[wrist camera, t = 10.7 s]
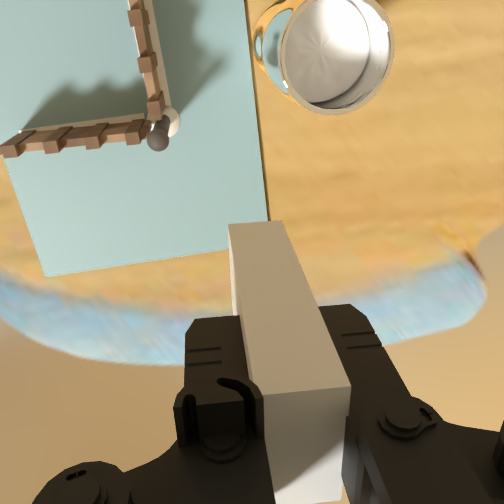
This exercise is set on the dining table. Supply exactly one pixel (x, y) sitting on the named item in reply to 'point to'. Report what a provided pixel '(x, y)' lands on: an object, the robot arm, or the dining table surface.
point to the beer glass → (325, 52)
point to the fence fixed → (150, 76)
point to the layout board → (125, 110)
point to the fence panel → (76, 137)
